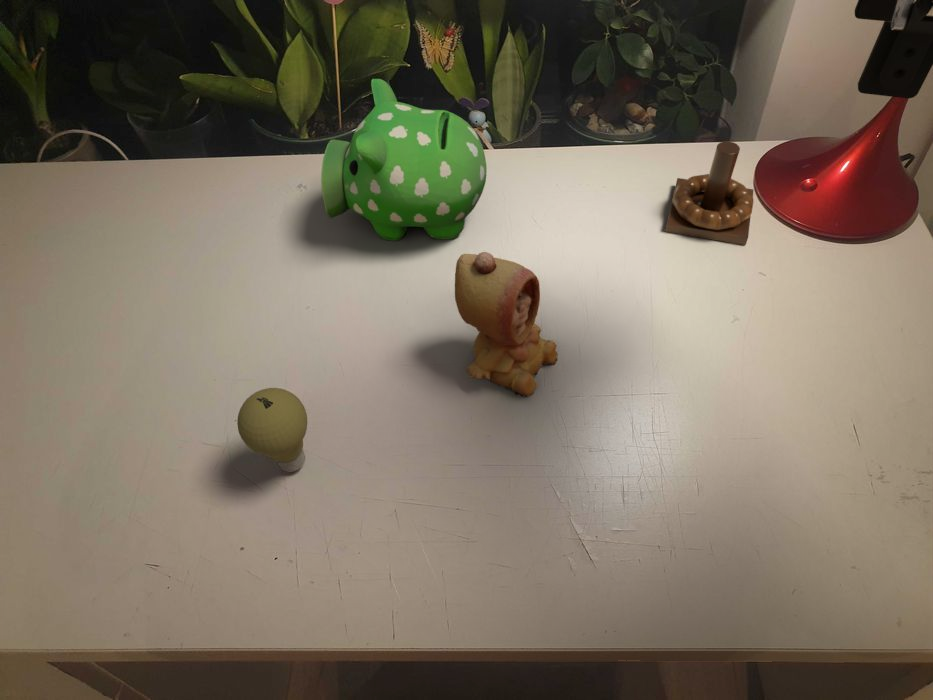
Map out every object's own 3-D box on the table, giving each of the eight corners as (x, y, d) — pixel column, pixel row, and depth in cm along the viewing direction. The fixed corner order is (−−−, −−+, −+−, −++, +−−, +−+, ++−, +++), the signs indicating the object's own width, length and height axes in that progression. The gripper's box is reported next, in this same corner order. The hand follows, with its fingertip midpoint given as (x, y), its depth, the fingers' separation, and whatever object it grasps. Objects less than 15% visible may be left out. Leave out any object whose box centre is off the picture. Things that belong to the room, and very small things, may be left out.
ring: (753, 192, 79) (758, 178, 77) (745, 239, 74) (750, 225, 72) (678, 179, 81) (682, 165, 80) (666, 224, 76) (669, 210, 75)
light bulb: (333, 442, 62) (307, 378, 54) (312, 496, 58) (282, 436, 50) (278, 433, 63) (244, 369, 55) (254, 485, 59) (215, 426, 51)
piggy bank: (351, 184, 86) (325, 75, 75) (489, 181, 85) (485, 70, 73) (332, 259, 77) (300, 149, 66) (487, 257, 76) (482, 144, 64)
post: (751, 197, 80) (774, 130, 73) (745, 245, 75) (769, 178, 68) (675, 185, 82) (690, 119, 75) (664, 231, 77) (680, 165, 70)
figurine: (528, 415, 62) (491, 297, 52) (462, 396, 66) (416, 283, 56) (571, 343, 67) (545, 223, 57) (508, 329, 71) (474, 215, 61)
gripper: (1224, -295, 23) (963, 137, 36) (1104, -357, 33) (934, -1, 46) (979, -291, 25) (816, 119, 38) (937, -351, 35) (819, -10, 48)
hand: (881, 53), depth 42 cm, fingers open, 9 cm apart
